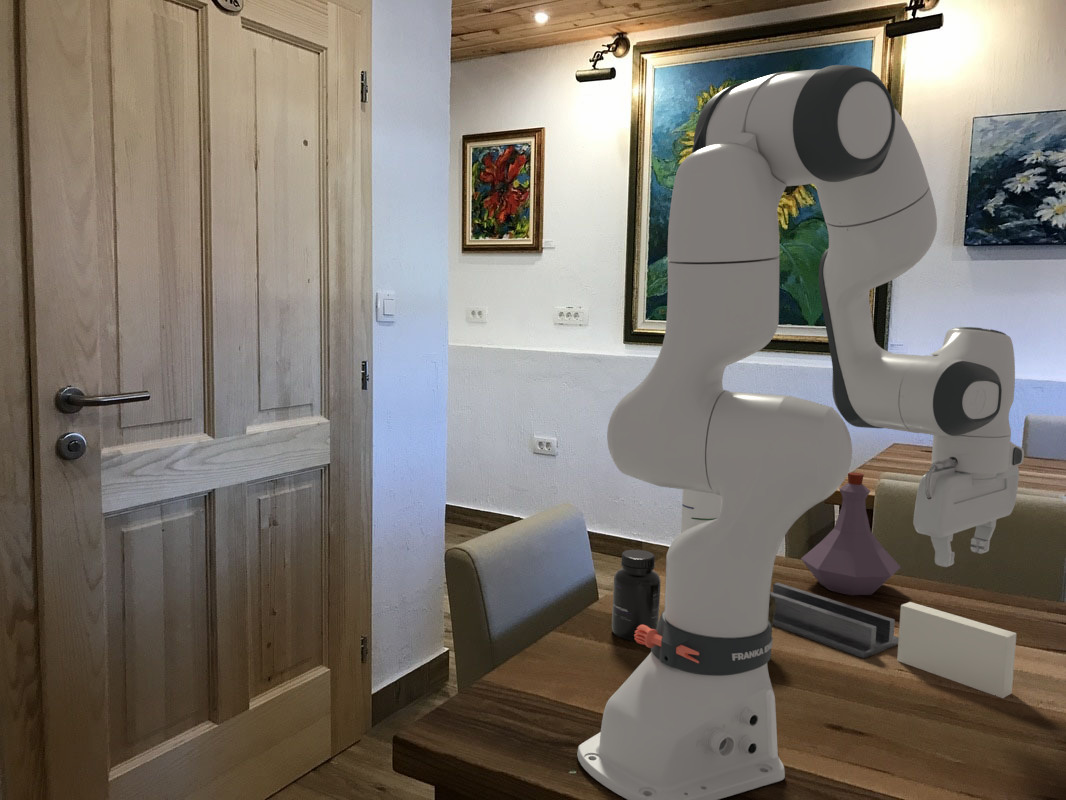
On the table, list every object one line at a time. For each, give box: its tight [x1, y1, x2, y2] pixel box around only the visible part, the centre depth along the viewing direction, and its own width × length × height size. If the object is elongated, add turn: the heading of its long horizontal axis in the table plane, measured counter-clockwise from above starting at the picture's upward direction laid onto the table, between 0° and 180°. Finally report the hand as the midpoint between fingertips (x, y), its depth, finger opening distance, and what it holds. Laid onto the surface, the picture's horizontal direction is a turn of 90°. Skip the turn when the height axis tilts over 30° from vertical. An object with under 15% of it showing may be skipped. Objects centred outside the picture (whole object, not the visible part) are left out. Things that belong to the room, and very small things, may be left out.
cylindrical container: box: [680, 489, 722, 534], centre depth 154 cm, size 7×7×25 cm
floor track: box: [770, 582, 899, 660], centre depth 129 cm, size 20×9×4 cm, turn 38°
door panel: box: [896, 601, 1017, 699], centre depth 113 cm, size 14×2×8 cm, turn 38°
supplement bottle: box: [611, 549, 661, 642], centre depth 126 cm, size 7×7×12 cm
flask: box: [800, 472, 902, 596], centre depth 149 cm, size 16×16×20 cm
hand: (962, 558), depth 112 cm, fingers open, 8 cm apart
